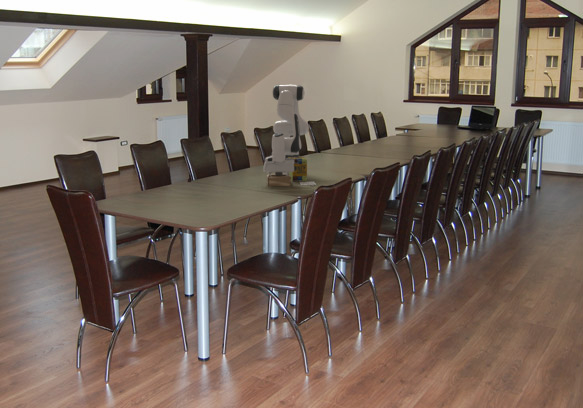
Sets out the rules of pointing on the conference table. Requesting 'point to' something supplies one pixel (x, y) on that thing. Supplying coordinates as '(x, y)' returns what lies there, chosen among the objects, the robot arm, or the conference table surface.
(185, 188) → the conference table surface
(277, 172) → the capped block
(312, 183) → the felt pad
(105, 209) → the conference table surface
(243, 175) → the conference table surface
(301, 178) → the protein box
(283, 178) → the brown wooden open box
